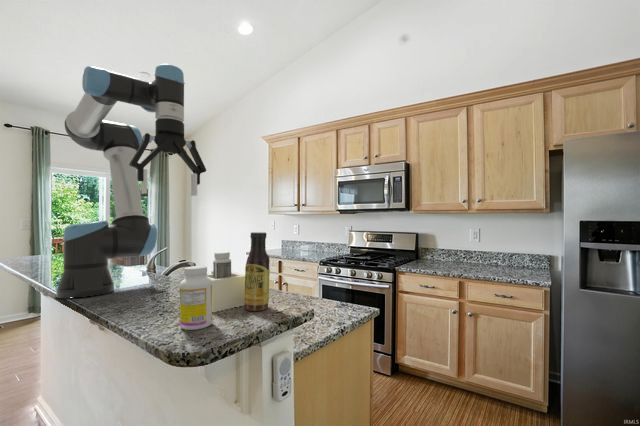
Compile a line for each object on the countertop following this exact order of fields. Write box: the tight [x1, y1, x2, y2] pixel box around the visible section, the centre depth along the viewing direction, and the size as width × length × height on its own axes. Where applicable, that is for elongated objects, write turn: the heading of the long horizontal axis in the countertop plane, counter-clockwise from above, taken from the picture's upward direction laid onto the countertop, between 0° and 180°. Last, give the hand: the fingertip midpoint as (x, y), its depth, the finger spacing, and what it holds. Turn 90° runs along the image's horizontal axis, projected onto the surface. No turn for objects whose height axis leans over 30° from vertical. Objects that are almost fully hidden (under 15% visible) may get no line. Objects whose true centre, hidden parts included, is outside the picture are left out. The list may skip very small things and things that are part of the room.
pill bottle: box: [212, 251, 232, 279], centre depth 88 cm, size 5×5×8 cm
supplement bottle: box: [179, 265, 213, 331], centre depth 71 cm, size 7×7×13 cm
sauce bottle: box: [244, 231, 271, 312], centre depth 84 cm, size 6×6×20 cm
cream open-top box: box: [206, 270, 245, 313], centre depth 88 cm, size 12×10×9 cm
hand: (170, 194), depth 92 cm, fingers open, 13 cm apart
